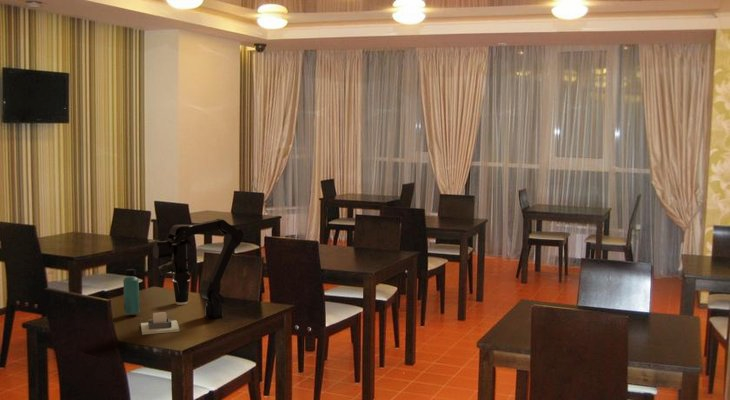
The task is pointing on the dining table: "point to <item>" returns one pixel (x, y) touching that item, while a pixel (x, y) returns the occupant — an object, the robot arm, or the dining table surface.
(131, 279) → the beverage bottle
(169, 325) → the header board
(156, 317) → the plug
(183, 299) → the dixie cup
